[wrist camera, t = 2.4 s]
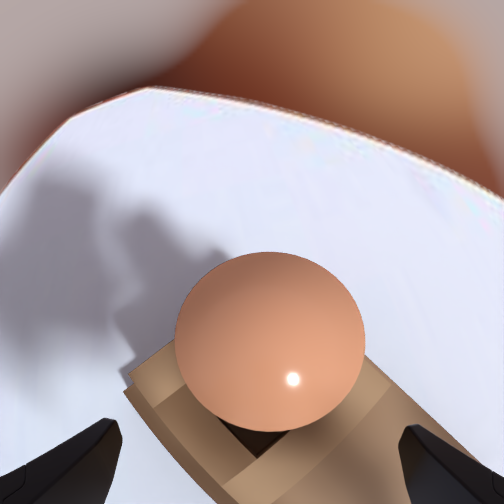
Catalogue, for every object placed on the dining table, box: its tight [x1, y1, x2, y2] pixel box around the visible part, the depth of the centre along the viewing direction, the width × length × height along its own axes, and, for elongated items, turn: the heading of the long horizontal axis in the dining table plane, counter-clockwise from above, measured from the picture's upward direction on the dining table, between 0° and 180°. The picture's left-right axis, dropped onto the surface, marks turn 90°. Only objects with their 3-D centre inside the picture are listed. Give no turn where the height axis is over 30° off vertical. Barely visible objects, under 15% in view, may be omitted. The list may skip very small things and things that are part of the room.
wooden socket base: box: [123, 339, 481, 504], centre depth 13 cm, size 12×22×4 cm, turn 42°
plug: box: [175, 252, 365, 432], centre depth 11 cm, size 4×4×11 cm
